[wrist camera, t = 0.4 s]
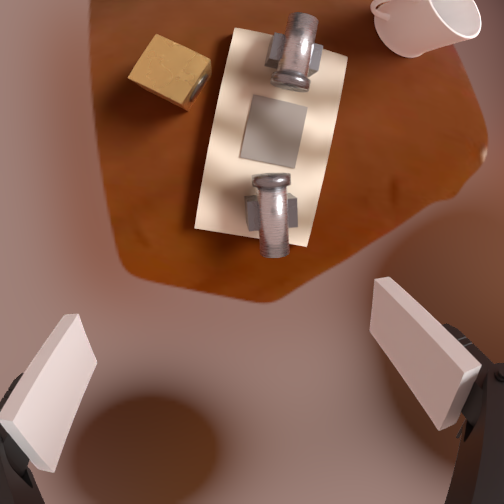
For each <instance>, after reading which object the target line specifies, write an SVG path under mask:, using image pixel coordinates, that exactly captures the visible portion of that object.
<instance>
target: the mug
mask: <svg viewBox="0 0 504 504" xmlns="http://www.w3.org/2000/svg"><path fill="white" fill-rule="evenodd" d="M387 1H390V2H387ZM384 2H387V3H384ZM381 3H384V4H382V5H381V6H379V7H378V9H376V8H375V7H376V6H377V5H379V4H381ZM370 8H371V12H372V13H373V14H374V15H375V16H374V24H375V28H376V31H377V33H378V35H379V37H380V39H381V40H382V41H383V43H384V44H385V45H386V46H387V47H388V48H389V49H390V50H392V51H393V52H395V53H396V54H398V55H400V56H403V57H407V58H414V57H418V56H420V55H421V54H423V53H424V52H427V51H430V50H434V49H437V48H440V47H443V46H447V45H450V44H454V43H457V42H460V41H464V40H468V39H472V38H474V37H476V36H477V35H478V34H479V32H480V30H481V18H480V13H479V10H478V8H477V6H476V4H475V2H474V0H374V1H373V2H372V3H371V6H370Z"/></svg>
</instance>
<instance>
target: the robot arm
mask: <svg viewBox="0 0 504 504" xmlns="http://www.w3.org/2000/svg"><path fill="white" fill-rule="evenodd" d="M373 293H374V294H373V303H372V304H373V305H372V314H371V323H370V332H371V334H372V335H373V337H374V338H375V339H376V341H377V342H378V343H379V345H380V346H381V348H382V349H383V350H384V352H385V353H386V355H387V356H388V357H389V359H390V360H391V361H392V363H393V364H394V366H395V367H396V369H397V370H398V372H399V373H400V374H401V376H402V377H403V379H404V380H405V382H406V383H407V385H408V386H409V387H410V389H411V390H412V392H413V393H414V395H415V396H416V398H417V399H418V401H419V402H420V404H421V405H422V407H423V408H424V409H425V411H426V412H427V414H428V415H429V417H430V418H431V420H432V422H433V423H434V425H435V426H436V427H437V429H438V431H440V430H442V429H445V428H447V427H449V426H451V425H453V424H455V423H456V422H457V420H458V418H459V416H460V413H461V412H462V414H463V415H464V416H465V418H466V419H465V421H464V423H463V425H462V427H461V429H460V431H459V432H458V434H457V436H456V438H459V437H460V435H461V439H460V445H459V450H458V454H457V459H456V463H455V467H454V472H453V476H452V479H451V484H450V487H449V490H448V494H447V497H446V501H445V504H504V363H497V364H493V363H492V362H491V361H490V360H489V359H488V358H487V357H486V356H485V355H484V354H483V353H482V352H481V351H480V350H479V349H478V348H477V347H476V346H475V345H474V344H472V342H471V341H470V340H469V339H468V338H466V336H465V335H463V334H462V333H461V332H460V331H459V330H458V329H457V328H455V327H452V326H450V325H449V324H444V325H441V324H440V323H439V322H438V321H437V320H436V319H435V318H434V317H433V316H432V315H431V314H429V312H427V311H426V310H425V309H424V308H423V307H422V306H421V305H420V304H419V303H418V302H417V301H416V300H415V299H413V298H412V297H411V296H410V295H409V294H408V293H407V292H406V291H405V290H404V289H402V288H401V287H400V286H399V285H398V284H397V283H396V282H395V281H394V280H392V279H391V278H390V277H385V278H379V279H375V280H374V292H373ZM96 364H97V361H96V358H95V356H94V353H93V351H92V349H91V346H90V344H89V341H88V339H87V336H86V333H85V331H84V328H83V325H82V323H81V320H80V317H79V314H66V315H64V316H63V318H62V319H61V320H60V322H59V323H58V324H57V326H56V327H55V329H54V330H53V331H52V333H51V334H50V336H49V337H48V339H47V340H46V341H45V343H44V344H43V346H42V347H41V348H40V350H39V352H38V353H37V354H36V356H35V357H34V359H33V360H32V362H31V363H30V365H29V366H28V368H27V369H26V371H25V373H22V374H20V375H19V376H18V377H17V378H16V379H15V380H14V381H13V382H12V384H11V386H10V387H9V390H8V391H7V392H6V394H5V395H4V398H2V400H1V402H0V504H45V502H44V500H43V498H42V496H41V494H40V491H39V489H38V487H37V484H36V482H35V479H34V477H33V474H32V472H31V470H30V469H29V468H28V466H27V465H28V462H29V460H30V461H31V462H32V463H33V464H34V465H35V466H36V467H37V468H38V469H40V470H44V471H49V472H53V473H54V472H55V469H56V465H57V463H58V460H59V457H60V454H61V451H62V449H63V446H64V443H65V440H66V438H67V435H68V432H69V430H70V427H71V424H72V422H73V419H74V416H75V414H76V412H77V409H78V407H79V404H80V402H81V399H82V397H83V395H84V392H85V390H86V387H87V385H88V382H89V380H90V378H91V376H92V373H93V371H94V369H95V367H96ZM461 433H462V434H461Z"/></svg>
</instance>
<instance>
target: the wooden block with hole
mask: <svg viewBox="0 0 504 504" xmlns="http://www.w3.org/2000/svg"><path fill="white" fill-rule="evenodd" d="M211 76H212V70H211V60H210V59H209V58H207V57H205V56H203V55H201V54H199V53H196V52H194V51H192V50H190V49H188V48H186V47H184V46H182V45H180V44H178V43H175V42H173V41H171V40H169V39H166V38H164V37H162V36H160V35H157V34H156V35H155V37H154V38H153V39H152V41H151V42H150V44H149V45H148V47H147V48H146V50H145V51H144V53H143V54H142V56H141V57H140V59H139V60H138V62H137V63H136V65H135V66H134V68H133V70H132V71H131V73H130V75H129V76H128V78H129V79H130V80H132V81H133V82H134V83H136V84H137V85H139V86H140V87H142V88H143V89H145V90H147V91H149V92H151V93H153V94H155V95H157V96H159V97H161V98H163V99H165V100H167V101H169V102H171V103H173V104H175V105H177V106H179V107H180V108H182V109H184V110H186V111H189V110H190V108H191V107H192V105H193V103H194V102H195V100H196V99H197V97H198V95H199V94H200V92H201V91H202V89H203V88H204V86H205V85H206V83H207V82H208V80H209V79H210V77H211Z"/></svg>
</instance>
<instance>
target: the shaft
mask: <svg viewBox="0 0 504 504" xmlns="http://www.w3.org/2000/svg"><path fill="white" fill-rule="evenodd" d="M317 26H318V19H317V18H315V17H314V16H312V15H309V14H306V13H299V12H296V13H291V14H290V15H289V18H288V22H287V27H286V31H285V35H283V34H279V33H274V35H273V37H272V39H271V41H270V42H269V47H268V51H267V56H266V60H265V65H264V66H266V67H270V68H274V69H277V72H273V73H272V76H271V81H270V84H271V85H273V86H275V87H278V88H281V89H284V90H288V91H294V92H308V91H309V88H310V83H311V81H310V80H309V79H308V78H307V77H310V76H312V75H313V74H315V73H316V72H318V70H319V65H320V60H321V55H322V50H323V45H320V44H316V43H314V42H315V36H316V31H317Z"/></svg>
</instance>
